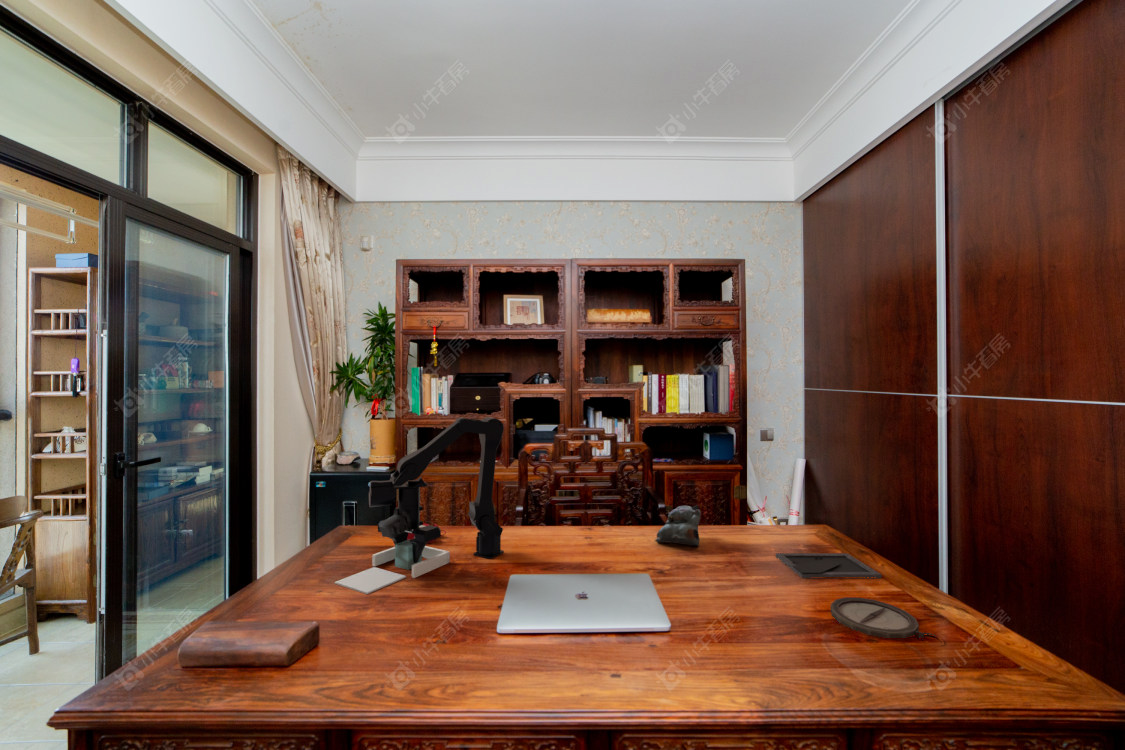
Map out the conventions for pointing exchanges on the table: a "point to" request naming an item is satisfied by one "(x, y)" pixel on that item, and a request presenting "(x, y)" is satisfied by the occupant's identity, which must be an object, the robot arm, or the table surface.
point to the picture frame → (826, 565)
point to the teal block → (404, 555)
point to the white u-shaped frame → (432, 562)
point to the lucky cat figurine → (681, 526)
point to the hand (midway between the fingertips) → (408, 560)
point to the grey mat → (370, 580)
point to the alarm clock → (411, 536)
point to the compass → (875, 618)
